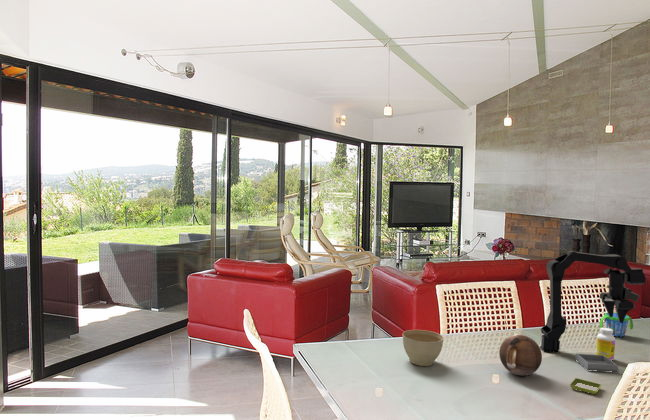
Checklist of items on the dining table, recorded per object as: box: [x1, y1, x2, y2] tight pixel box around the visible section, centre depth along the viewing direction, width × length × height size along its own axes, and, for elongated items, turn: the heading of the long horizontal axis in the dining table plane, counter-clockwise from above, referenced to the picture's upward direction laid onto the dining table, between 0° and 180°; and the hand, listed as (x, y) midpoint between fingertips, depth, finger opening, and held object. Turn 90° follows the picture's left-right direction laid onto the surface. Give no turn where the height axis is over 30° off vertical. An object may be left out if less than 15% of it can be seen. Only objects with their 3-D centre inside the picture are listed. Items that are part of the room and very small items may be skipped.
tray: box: [575, 353, 619, 373], centre depth 195 cm, size 11×11×3 cm
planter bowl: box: [402, 329, 444, 367], centre depth 194 cm, size 16×16×11 cm
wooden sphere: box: [498, 334, 543, 377], centre depth 184 cm, size 15×15×15 cm
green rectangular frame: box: [569, 377, 602, 395], centre depth 173 cm, size 9×9×2 cm
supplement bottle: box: [595, 327, 616, 361], centre depth 204 cm, size 7×7×13 cm
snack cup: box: [599, 312, 634, 338], centre depth 239 cm, size 16×10×10 cm
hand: (616, 319), depth 209 cm, fingers open, 9 cm apart
